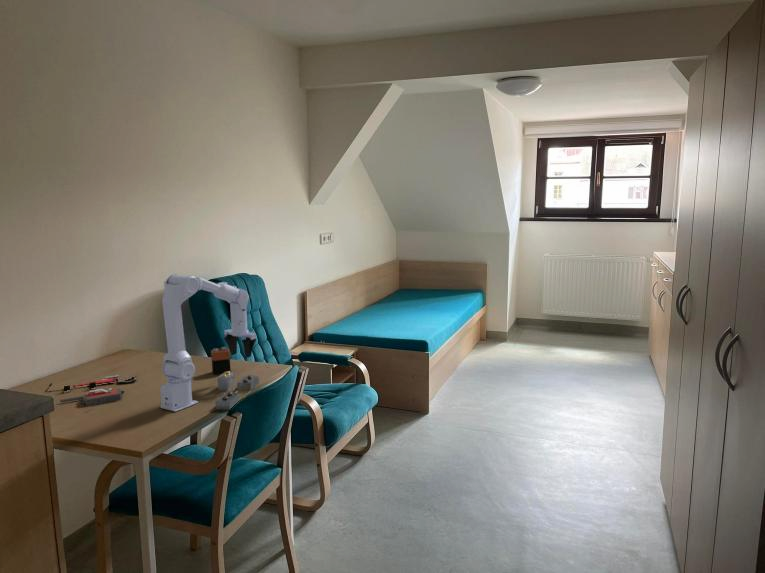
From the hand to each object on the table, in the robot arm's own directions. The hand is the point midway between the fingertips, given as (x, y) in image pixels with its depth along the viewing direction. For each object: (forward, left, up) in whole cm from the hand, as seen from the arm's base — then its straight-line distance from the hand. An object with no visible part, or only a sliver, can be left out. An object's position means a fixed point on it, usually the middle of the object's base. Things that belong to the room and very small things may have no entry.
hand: (241, 355), depth 209 cm
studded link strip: (-12, -10, -10) cm, 19 cm away
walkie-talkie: (-41, +30, -11) cm, 52 cm away
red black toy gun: (-30, +48, -11) cm, 58 cm away
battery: (+4, +16, -10) cm, 19 cm away
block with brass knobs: (-8, 0, -10) cm, 13 cm away
